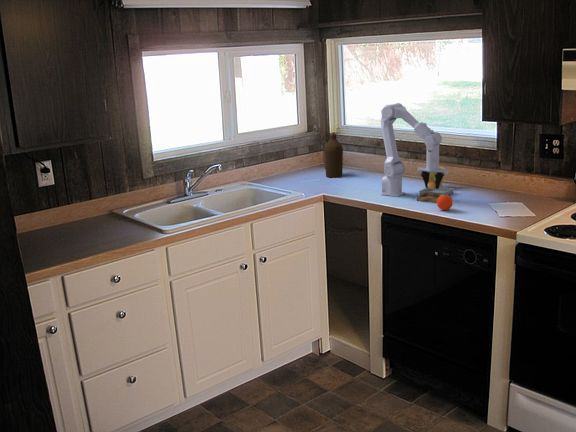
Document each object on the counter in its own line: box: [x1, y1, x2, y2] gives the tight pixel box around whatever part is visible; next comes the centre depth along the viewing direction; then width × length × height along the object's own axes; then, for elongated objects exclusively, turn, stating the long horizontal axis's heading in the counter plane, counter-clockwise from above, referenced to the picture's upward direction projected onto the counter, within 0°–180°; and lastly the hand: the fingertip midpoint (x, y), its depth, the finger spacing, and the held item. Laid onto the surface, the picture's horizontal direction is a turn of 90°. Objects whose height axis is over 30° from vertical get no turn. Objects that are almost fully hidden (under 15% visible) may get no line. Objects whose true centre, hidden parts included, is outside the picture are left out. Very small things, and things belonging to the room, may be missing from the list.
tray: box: [416, 193, 441, 204], centre depth 295 cm, size 11×9×2 cm
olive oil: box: [323, 131, 344, 179], centre depth 355 cm, size 11×11×25 cm
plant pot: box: [429, 166, 446, 187], centre depth 319 cm, size 10×10×10 cm
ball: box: [427, 180, 436, 190], centre depth 293 cm, size 5×5×5 cm
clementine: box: [436, 195, 454, 211], centre depth 277 cm, size 8×7×7 cm
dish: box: [418, 186, 454, 196], centre depth 305 cm, size 12×12×2 cm
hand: (432, 188), depth 294 cm, fingers closed on ball, 4 cm apart
